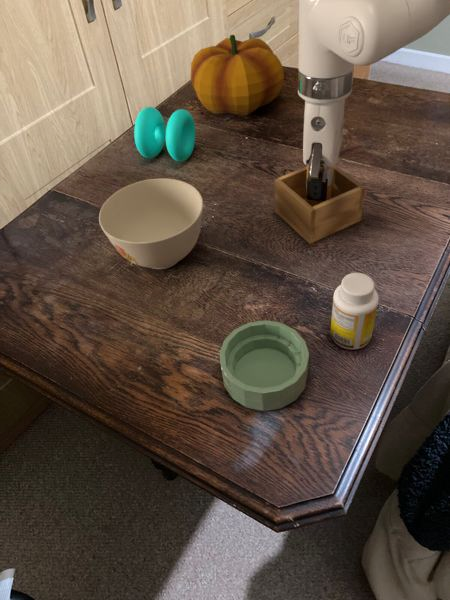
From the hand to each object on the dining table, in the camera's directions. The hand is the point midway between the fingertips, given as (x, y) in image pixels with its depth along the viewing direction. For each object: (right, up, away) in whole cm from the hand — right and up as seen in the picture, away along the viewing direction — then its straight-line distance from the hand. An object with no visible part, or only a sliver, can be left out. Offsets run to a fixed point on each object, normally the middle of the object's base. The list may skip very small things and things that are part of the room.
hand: (318, 189), depth 82 cm
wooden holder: (0, -4, +4) cm, 6 cm away
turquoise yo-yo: (-27, +12, +22) cm, 37 cm away
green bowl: (-10, -28, -17) cm, 34 cm away
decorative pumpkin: (-12, +28, +35) cm, 47 cm away
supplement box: (0, -3, +4) cm, 5 cm away
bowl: (-26, -11, +1) cm, 28 cm away
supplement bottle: (+2, -23, -14) cm, 27 cm away
